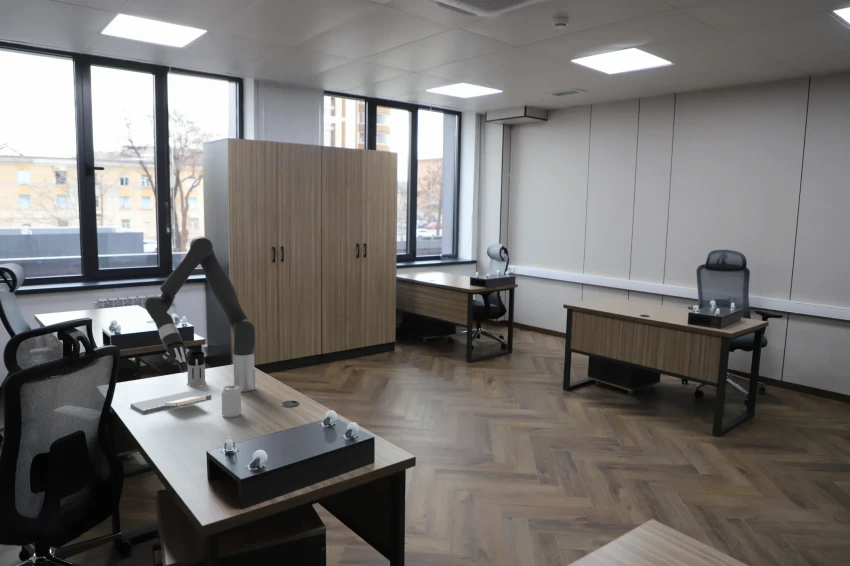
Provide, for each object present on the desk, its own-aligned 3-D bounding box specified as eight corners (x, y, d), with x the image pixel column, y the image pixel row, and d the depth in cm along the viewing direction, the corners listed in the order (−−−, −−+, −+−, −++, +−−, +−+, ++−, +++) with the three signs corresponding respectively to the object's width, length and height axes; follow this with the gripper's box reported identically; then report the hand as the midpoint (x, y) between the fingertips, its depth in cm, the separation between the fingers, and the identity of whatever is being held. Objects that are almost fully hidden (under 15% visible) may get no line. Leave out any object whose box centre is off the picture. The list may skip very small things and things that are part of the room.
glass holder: (205, 380, 292) (205, 350, 291) (207, 388, 280) (206, 357, 278) (186, 382, 289) (185, 351, 287) (187, 390, 276) (186, 358, 274)
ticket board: (198, 392, 274) (197, 388, 273) (211, 398, 266) (211, 394, 266) (130, 407, 251) (130, 403, 251) (143, 414, 243) (142, 410, 243)
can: (244, 412, 248) (243, 384, 247) (236, 419, 241) (236, 390, 239) (226, 411, 249) (226, 383, 247) (218, 417, 241) (218, 389, 240)
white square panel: (192, 396, 259) (205, 396, 251) (192, 399, 258) (206, 399, 250) (164, 402, 250) (177, 402, 242) (165, 405, 250) (178, 405, 242)
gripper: (158, 334, 248) (173, 369, 242) (188, 329, 258) (203, 364, 252) (152, 343, 252) (166, 379, 246) (181, 339, 262) (196, 373, 256)
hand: (185, 371), depth 249 cm, fingers closed
